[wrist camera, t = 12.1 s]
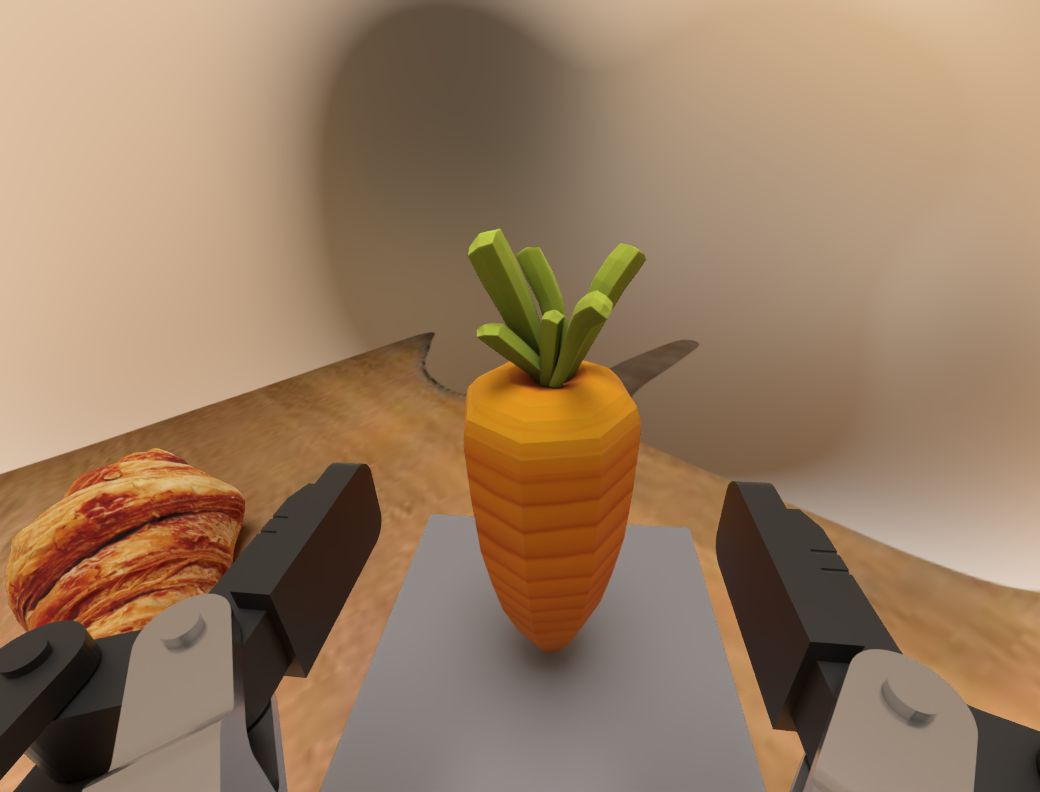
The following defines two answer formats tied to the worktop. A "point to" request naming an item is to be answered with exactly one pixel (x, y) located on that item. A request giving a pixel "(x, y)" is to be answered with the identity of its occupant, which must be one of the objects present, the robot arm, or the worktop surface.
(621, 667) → the base block
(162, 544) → the croissant
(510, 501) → the carrot
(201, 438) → the worktop surface
